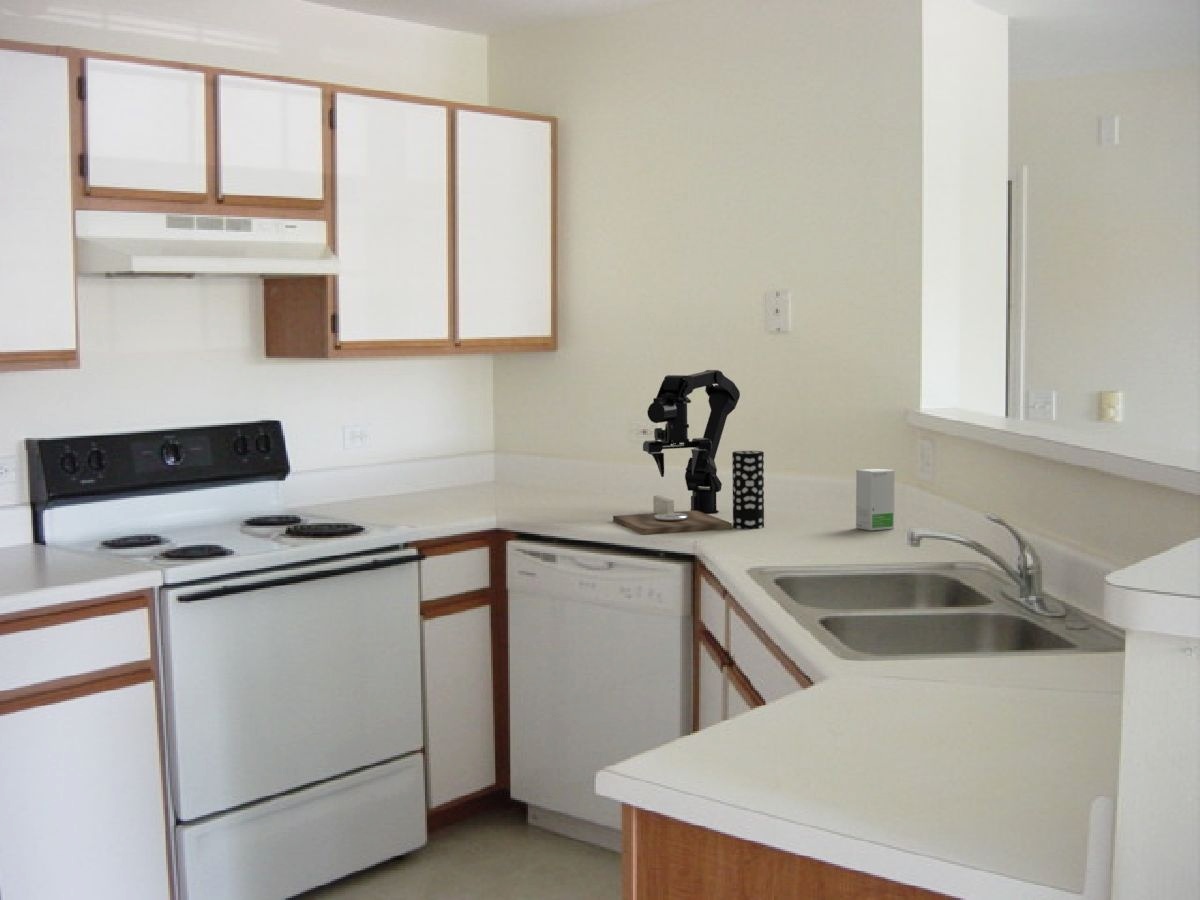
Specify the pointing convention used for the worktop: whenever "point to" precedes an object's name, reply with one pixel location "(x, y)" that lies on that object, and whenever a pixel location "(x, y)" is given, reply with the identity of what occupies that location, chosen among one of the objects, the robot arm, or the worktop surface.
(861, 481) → the skincare box
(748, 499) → the white-spotted black cylinder
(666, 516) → the cream block with dome
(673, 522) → the dial plate
